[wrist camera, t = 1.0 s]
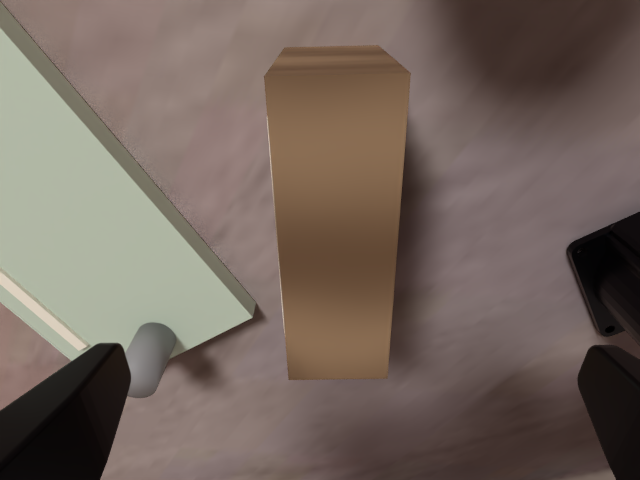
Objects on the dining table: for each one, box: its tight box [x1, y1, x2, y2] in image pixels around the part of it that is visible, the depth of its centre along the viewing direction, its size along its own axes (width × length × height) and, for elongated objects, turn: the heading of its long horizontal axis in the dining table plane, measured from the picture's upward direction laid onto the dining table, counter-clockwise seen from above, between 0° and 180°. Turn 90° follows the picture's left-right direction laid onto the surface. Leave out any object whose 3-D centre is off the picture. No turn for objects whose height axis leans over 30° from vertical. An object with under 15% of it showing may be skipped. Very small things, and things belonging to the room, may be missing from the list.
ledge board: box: [0, 2, 256, 398], centre depth 18 cm, size 18×10×4 cm, turn 31°
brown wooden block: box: [264, 45, 411, 380], centre depth 16 cm, size 10×4×7 cm, turn 1°
